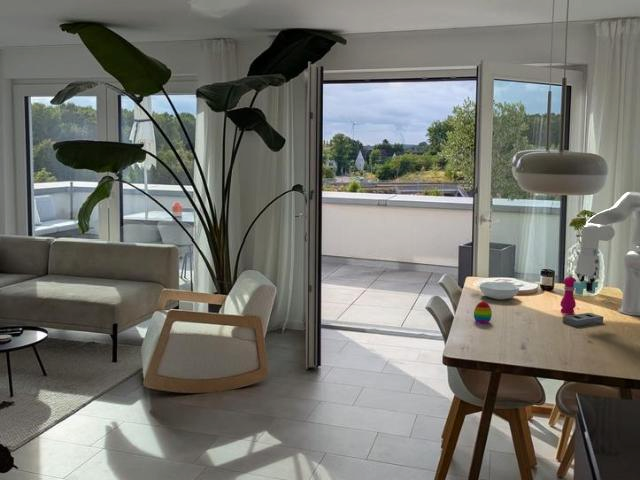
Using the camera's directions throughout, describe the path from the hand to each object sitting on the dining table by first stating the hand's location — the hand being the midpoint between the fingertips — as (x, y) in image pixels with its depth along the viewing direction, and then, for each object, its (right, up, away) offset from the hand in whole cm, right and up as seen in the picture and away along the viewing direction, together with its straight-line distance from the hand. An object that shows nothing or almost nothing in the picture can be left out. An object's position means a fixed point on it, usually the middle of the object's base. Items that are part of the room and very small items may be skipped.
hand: (585, 289), depth 311 cm
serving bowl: (-28, -8, +49) cm, 57 cm away
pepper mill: (-1, -13, +20) cm, 24 cm away
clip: (0, -2, 0) cm, 2 cm away
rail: (0, -16, +3) cm, 16 cm away
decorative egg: (-49, -16, -1) cm, 51 cm away
